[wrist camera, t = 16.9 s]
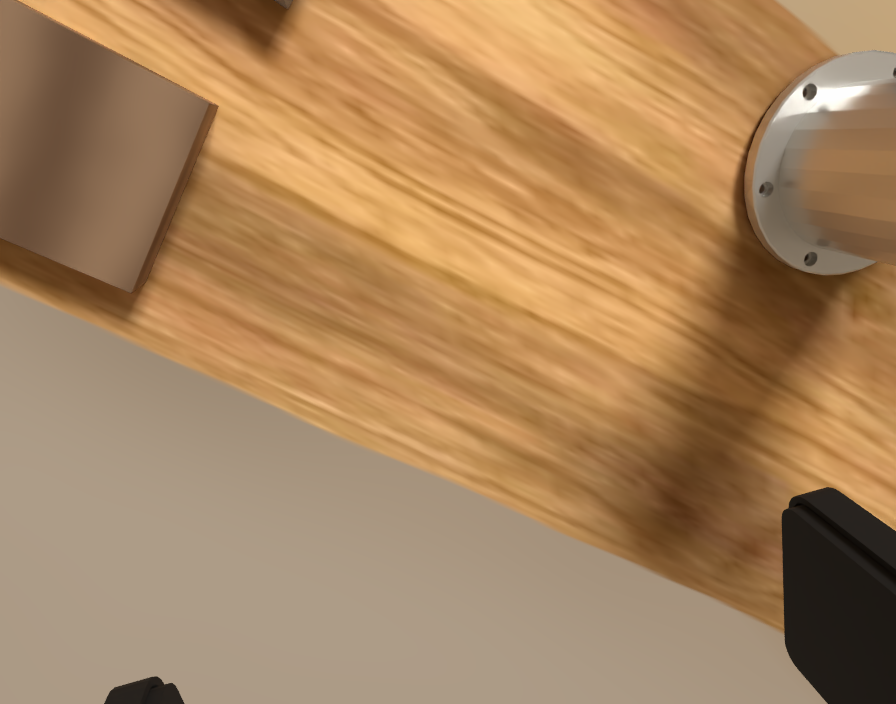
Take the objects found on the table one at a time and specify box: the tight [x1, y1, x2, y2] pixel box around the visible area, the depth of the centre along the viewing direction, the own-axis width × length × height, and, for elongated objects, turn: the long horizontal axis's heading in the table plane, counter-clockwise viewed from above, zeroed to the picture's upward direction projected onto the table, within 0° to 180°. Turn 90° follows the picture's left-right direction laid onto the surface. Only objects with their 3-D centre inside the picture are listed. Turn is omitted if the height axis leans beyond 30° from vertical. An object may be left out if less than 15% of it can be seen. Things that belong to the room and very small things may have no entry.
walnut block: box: [0, 0, 218, 293], centre depth 31 cm, size 10×10×3 cm
